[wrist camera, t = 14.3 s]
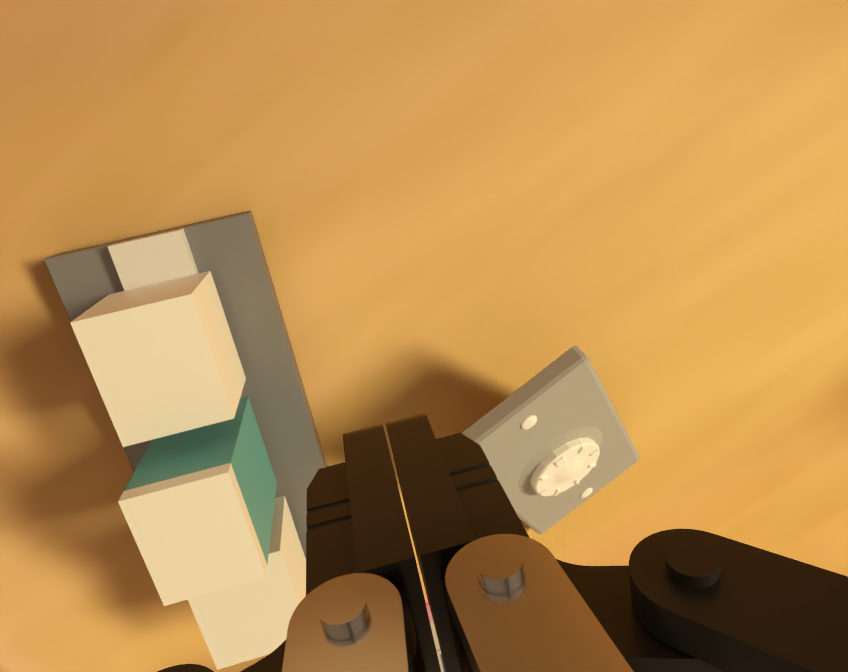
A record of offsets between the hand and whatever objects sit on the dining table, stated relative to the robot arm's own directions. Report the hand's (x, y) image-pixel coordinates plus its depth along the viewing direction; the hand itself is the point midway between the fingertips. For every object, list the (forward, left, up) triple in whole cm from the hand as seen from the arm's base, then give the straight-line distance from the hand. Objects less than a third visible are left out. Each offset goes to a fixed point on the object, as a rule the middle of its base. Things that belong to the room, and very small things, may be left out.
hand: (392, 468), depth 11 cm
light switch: (+14, +9, -24) cm, 29 cm away
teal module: (+9, -9, -22) cm, 25 cm away
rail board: (+8, -9, -24) cm, 27 cm away
